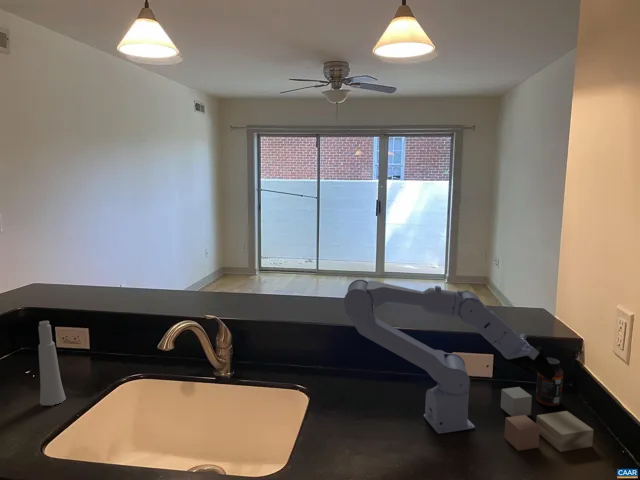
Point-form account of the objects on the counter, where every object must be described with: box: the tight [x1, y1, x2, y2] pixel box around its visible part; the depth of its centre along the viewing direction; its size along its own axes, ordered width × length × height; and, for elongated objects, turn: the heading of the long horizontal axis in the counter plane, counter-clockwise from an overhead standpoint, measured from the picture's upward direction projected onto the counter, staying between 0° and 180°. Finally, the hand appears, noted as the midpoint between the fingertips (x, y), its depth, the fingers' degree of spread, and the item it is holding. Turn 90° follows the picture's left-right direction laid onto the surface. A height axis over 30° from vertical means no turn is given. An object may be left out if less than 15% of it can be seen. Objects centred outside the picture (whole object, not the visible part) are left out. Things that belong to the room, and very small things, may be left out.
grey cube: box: [500, 386, 533, 417], centre depth 117 cm, size 5×5×5 cm
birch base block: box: [535, 410, 594, 453], centre depth 106 cm, size 8×8×4 cm
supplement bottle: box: [535, 357, 564, 407], centre depth 121 cm, size 6×6×11 cm
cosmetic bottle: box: [38, 320, 67, 406], centre depth 123 cm, size 6×6×22 cm
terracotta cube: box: [503, 415, 540, 452], centre depth 104 cm, size 5×5×5 cm
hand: (542, 373), depth 108 cm, fingers open, 7 cm apart
